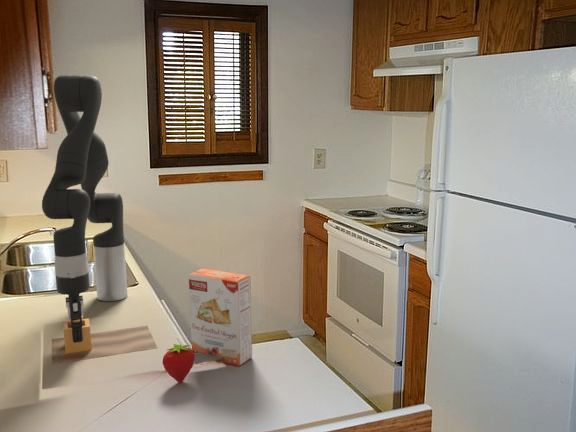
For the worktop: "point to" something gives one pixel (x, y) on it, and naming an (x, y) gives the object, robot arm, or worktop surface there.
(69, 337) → the collar
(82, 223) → the robot arm
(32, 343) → the worktop surface
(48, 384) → the worktop surface
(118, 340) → the board
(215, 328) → the cracker box
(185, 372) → the strawberry
